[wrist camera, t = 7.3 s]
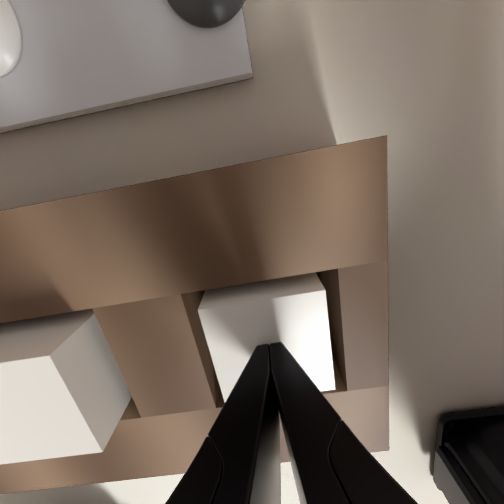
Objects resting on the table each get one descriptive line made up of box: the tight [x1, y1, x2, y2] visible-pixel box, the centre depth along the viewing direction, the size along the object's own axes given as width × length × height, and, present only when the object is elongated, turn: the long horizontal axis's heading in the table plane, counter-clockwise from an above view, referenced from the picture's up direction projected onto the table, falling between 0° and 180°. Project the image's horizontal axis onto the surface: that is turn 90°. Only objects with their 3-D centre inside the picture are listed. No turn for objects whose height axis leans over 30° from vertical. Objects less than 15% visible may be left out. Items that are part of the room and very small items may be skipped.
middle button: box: [0, 308, 132, 465], centre depth 9 cm, size 4×4×3 cm
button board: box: [0, 135, 389, 494], centre depth 11 cm, size 24×12×4 cm, turn 100°
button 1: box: [198, 272, 335, 402], centre depth 10 cm, size 4×4×3 cm
